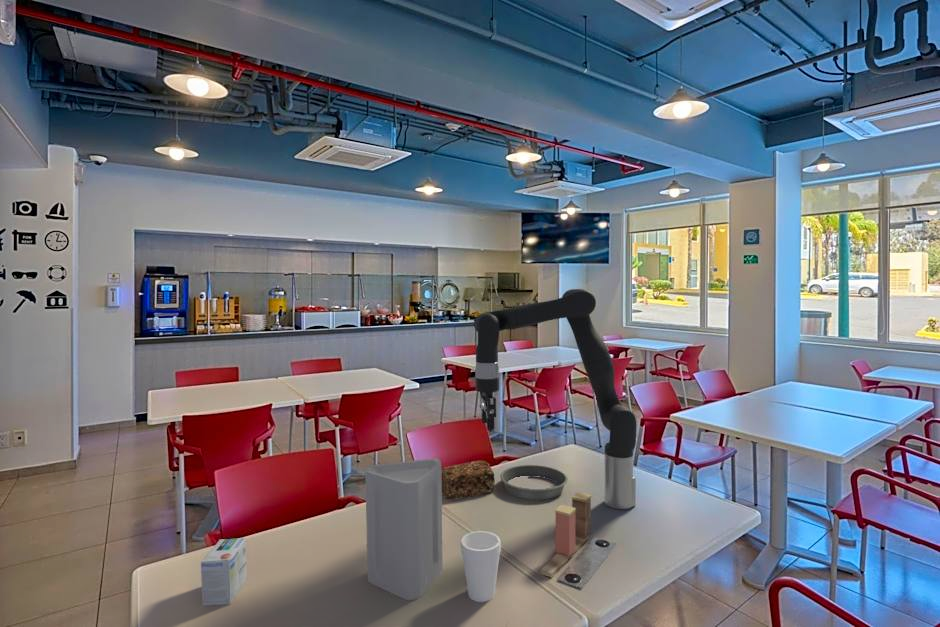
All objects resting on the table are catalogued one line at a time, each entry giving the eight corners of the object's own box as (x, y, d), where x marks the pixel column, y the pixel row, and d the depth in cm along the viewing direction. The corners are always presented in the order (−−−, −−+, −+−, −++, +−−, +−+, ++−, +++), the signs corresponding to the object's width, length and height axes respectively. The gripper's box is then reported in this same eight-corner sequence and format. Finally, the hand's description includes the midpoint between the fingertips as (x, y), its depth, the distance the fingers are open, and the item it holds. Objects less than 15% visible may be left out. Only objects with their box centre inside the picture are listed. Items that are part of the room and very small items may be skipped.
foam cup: (501, 583, 121) (501, 531, 121) (500, 607, 112) (500, 551, 112) (463, 581, 122) (463, 530, 122) (459, 604, 113) (458, 550, 113)
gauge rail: (577, 533, 146) (577, 491, 145) (591, 537, 143) (591, 494, 143) (538, 573, 125) (538, 524, 125) (553, 579, 123) (553, 529, 122)
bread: (485, 483, 185) (485, 457, 185) (495, 494, 175) (495, 466, 175) (437, 490, 179) (437, 463, 179) (445, 501, 169) (445, 473, 169)
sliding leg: (561, 545, 136) (561, 504, 136) (575, 549, 134) (575, 508, 134) (555, 551, 133) (555, 510, 133) (569, 556, 131) (569, 513, 130)
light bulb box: (220, 580, 124) (219, 538, 124) (248, 578, 125) (246, 537, 124) (201, 607, 113) (199, 561, 113) (231, 605, 114) (229, 559, 114)
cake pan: (573, 502, 168) (573, 489, 168) (502, 502, 168) (502, 489, 168) (561, 475, 193) (561, 464, 192) (498, 475, 193) (498, 464, 193)
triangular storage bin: (372, 607, 113) (370, 487, 111) (367, 572, 127) (365, 465, 126) (452, 592, 118) (451, 478, 117) (439, 560, 132) (437, 457, 131)
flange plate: (594, 538, 143) (594, 536, 143) (616, 545, 139) (616, 543, 139) (557, 580, 122) (557, 578, 122) (581, 589, 119) (581, 586, 119)
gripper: (503, 379, 150) (504, 431, 150) (494, 371, 164) (494, 420, 164) (479, 380, 148) (480, 433, 149) (471, 372, 163) (472, 421, 163)
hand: (487, 426), depth 157 cm, fingers open, 8 cm apart
